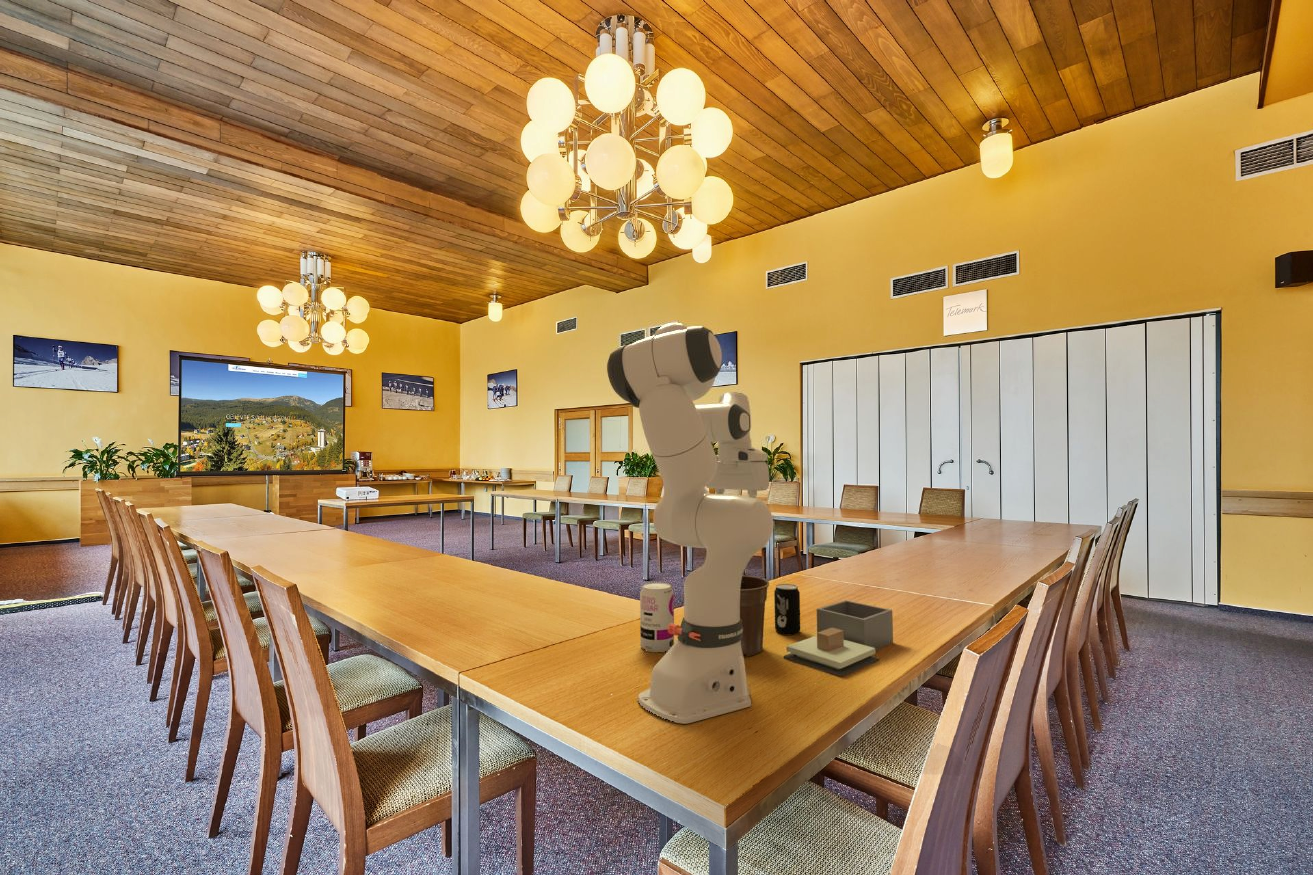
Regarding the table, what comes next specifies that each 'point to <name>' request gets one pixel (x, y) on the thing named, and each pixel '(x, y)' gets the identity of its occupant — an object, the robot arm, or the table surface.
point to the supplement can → (656, 616)
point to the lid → (831, 649)
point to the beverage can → (787, 609)
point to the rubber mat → (837, 672)
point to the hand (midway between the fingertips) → (735, 506)
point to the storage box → (858, 622)
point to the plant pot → (752, 613)
